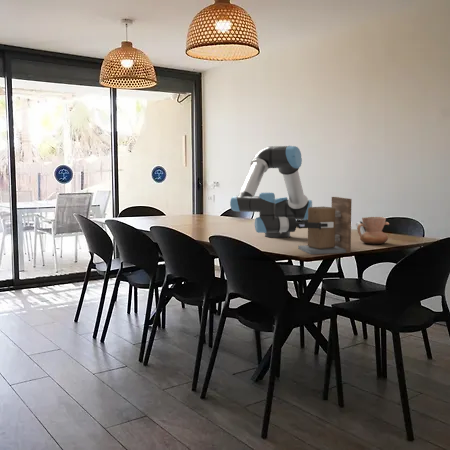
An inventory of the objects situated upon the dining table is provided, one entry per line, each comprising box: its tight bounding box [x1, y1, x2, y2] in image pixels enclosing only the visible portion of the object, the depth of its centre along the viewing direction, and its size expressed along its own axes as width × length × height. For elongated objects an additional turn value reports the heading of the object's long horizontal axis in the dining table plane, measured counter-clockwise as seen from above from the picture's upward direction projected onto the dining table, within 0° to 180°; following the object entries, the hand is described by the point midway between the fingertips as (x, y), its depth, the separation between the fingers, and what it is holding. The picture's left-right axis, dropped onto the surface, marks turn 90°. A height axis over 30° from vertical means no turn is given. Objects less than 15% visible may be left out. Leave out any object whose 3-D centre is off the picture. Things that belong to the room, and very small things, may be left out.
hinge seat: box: [297, 244, 347, 255], centre depth 260 cm, size 18×18×2 cm
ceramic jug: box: [356, 216, 390, 245], centre depth 283 cm, size 18×14×14 cm
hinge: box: [355, 220, 366, 234], centre depth 317 cm, size 17×5×10 cm, turn 178°
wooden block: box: [307, 206, 335, 249], centre depth 259 cm, size 10×10×20 cm
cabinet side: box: [331, 196, 352, 254], centre depth 261 cm, size 3×20×26 cm, turn 10°
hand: (328, 223), depth 260 cm, fingers open, 13 cm apart
